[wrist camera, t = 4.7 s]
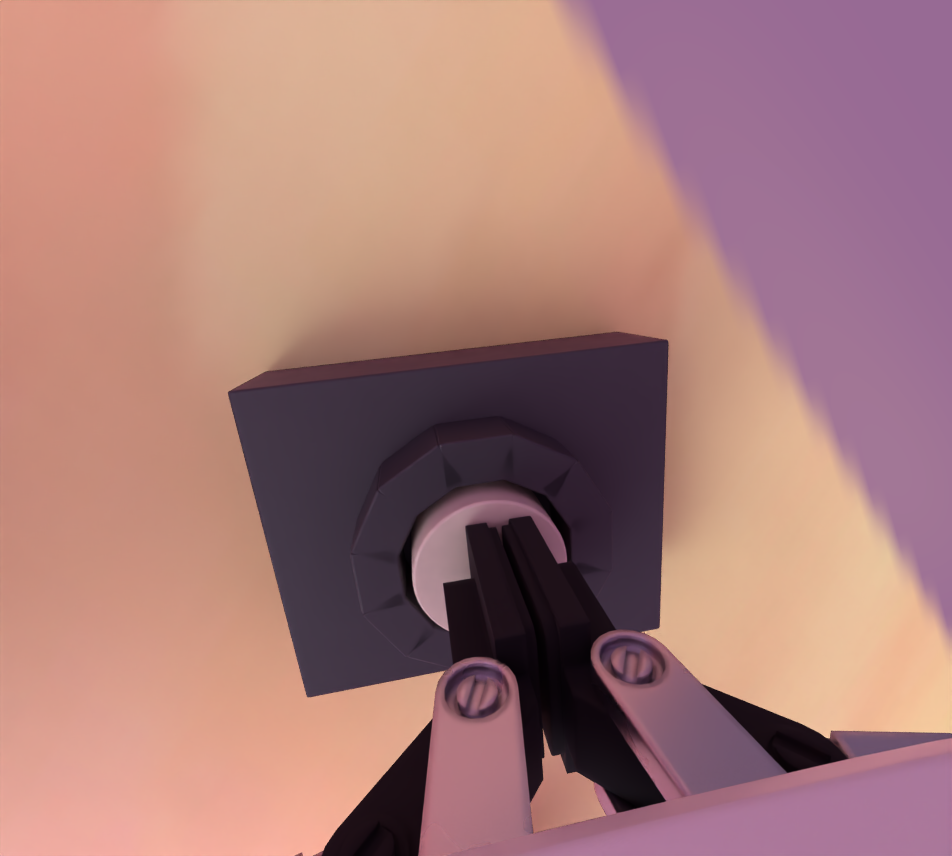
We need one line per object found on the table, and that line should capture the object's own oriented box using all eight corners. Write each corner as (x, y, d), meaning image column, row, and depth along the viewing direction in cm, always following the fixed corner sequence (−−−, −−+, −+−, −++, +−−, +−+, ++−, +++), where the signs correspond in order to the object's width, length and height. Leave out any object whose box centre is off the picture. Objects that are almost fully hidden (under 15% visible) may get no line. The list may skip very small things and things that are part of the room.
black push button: (323, 628, 17) (293, 753, 13) (263, 371, 14) (194, 408, 10) (619, 575, 19) (691, 669, 14) (618, 331, 16) (710, 346, 11)
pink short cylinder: (420, 601, 14) (422, 652, 12) (401, 480, 13) (401, 514, 11) (547, 578, 14) (570, 624, 12) (541, 460, 13) (564, 489, 11)
